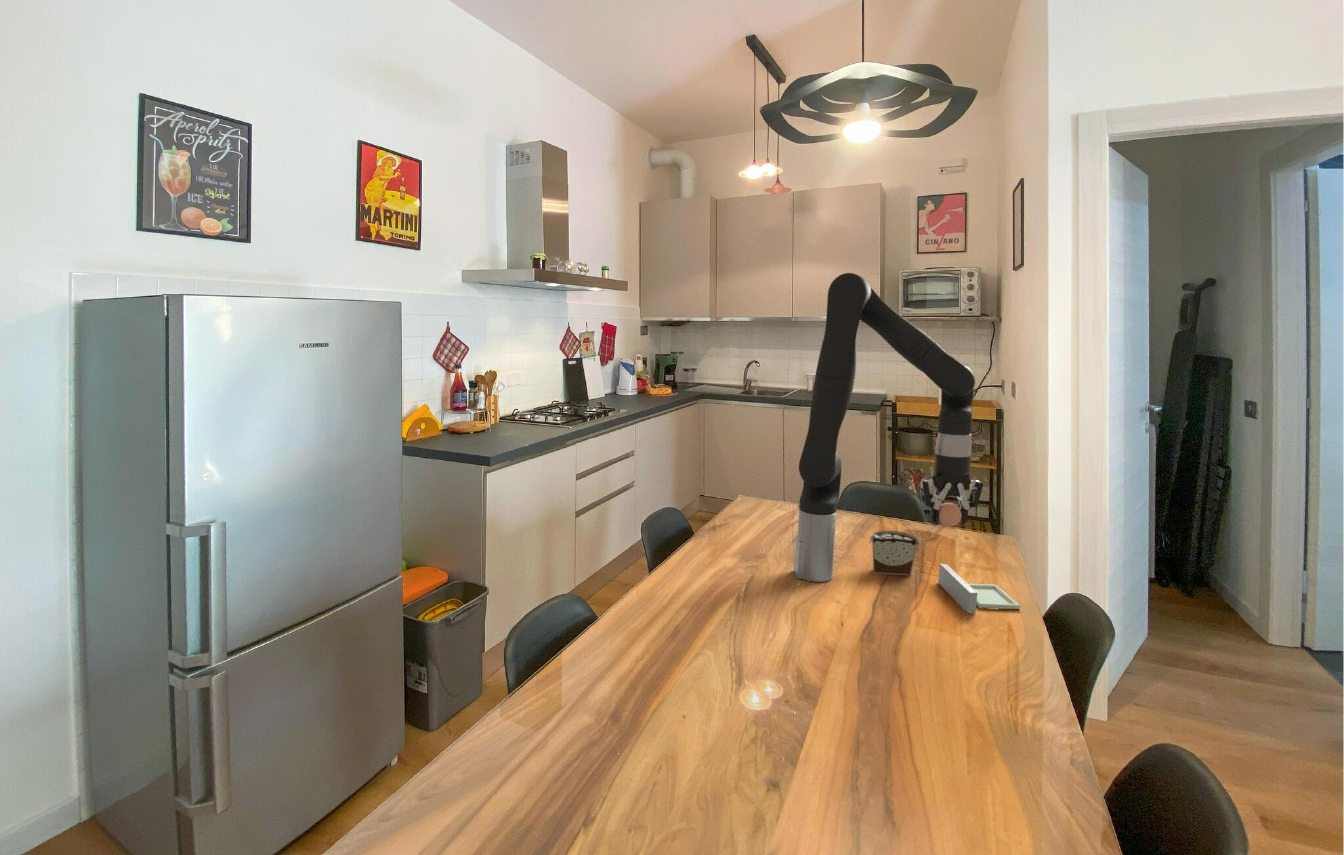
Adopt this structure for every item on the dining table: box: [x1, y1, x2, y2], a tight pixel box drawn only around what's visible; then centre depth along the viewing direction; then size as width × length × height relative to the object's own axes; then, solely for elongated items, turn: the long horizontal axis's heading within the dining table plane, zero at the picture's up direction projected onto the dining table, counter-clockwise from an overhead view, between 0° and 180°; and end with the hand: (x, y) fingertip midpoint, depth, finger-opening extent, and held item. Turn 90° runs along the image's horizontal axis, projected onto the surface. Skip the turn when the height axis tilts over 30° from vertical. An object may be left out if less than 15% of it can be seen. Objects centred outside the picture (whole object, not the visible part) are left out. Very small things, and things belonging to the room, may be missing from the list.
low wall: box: [937, 563, 977, 614], centre depth 155 cm, size 2×18×5 cm, turn 179°
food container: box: [869, 529, 920, 576], centre depth 171 cm, size 12×6×10 cm, turn 84°
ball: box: [938, 502, 962, 528], centre depth 152 cm, size 6×6×6 cm
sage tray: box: [967, 583, 1021, 610], centre depth 155 cm, size 9×12×1 cm
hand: (948, 523), depth 152 cm, fingers closed on ball, 5 cm apart
